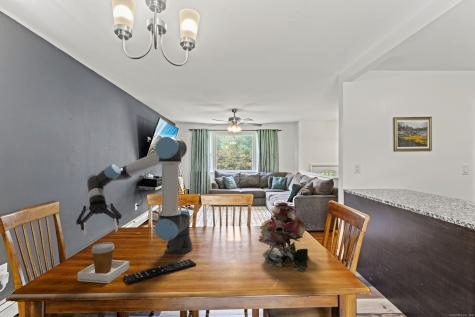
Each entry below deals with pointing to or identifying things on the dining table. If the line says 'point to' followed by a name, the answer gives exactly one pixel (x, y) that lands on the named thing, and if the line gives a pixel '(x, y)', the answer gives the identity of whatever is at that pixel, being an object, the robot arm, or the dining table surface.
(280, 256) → the rose bouquet
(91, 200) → the robot arm
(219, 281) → the dining table surface
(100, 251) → the disposable coffee cup
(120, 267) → the tray
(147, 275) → the remote control
